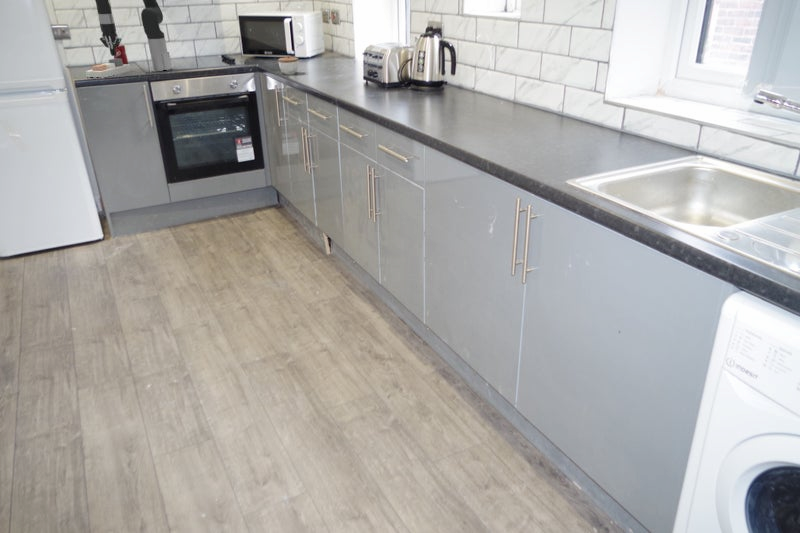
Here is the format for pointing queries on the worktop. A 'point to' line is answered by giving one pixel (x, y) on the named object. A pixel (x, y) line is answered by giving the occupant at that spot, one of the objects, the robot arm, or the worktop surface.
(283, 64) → the lidded jar
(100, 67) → the terracotta key
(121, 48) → the soda can
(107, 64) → the ivory key
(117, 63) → the charcoal key
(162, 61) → the robot arm
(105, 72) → the keypad housing
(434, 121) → the worktop surface
